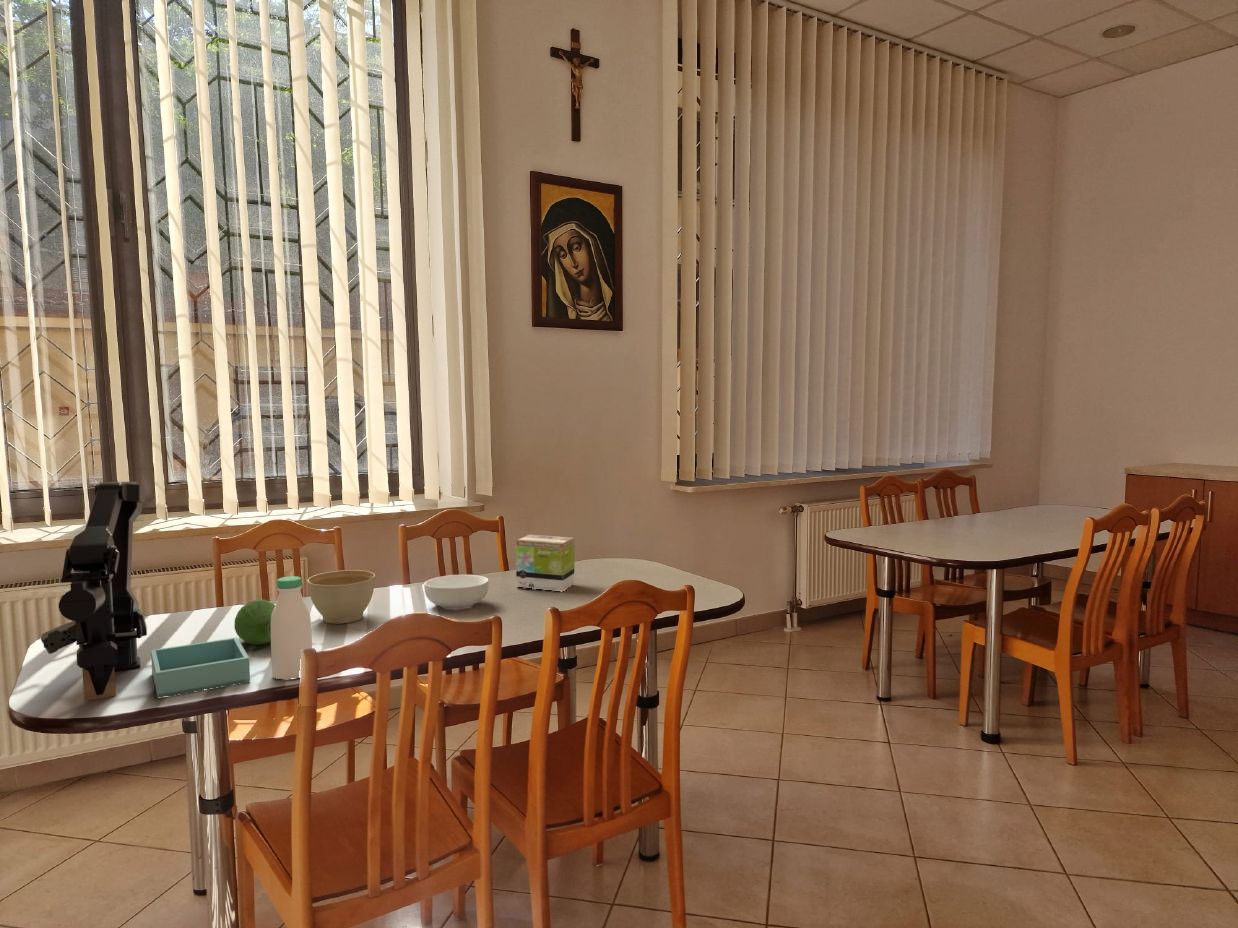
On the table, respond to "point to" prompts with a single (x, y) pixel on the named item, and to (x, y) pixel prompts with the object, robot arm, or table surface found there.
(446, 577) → the cereal bowl
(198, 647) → the teal bin
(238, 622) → the fruit
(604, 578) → the table surface
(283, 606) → the milk bottle
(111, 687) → the walnut block
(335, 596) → the planter bowl
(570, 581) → the tea box
